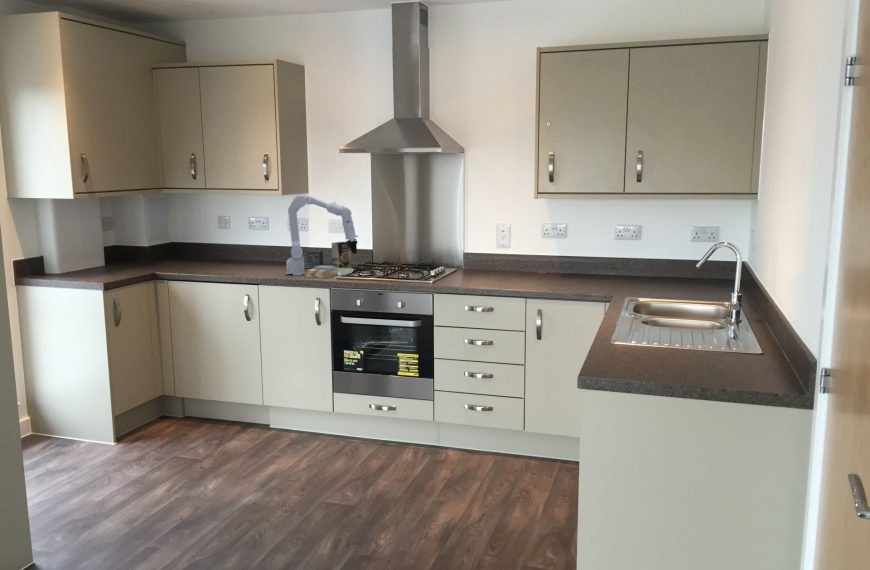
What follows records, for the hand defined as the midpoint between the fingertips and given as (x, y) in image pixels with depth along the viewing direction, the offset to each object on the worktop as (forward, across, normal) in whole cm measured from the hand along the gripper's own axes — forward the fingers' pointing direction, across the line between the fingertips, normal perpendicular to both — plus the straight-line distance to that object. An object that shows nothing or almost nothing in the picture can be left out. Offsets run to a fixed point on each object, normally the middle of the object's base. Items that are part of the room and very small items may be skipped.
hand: (354, 252), depth 407 cm
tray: (+9, -6, +12) cm, 16 cm away
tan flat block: (+7, -13, +20) cm, 25 cm away
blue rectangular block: (+3, -14, +18) cm, 24 cm away
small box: (+7, +22, +24) cm, 33 cm away
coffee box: (+10, +8, +8) cm, 15 cm away
